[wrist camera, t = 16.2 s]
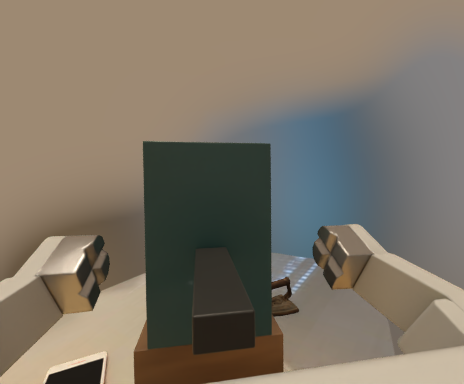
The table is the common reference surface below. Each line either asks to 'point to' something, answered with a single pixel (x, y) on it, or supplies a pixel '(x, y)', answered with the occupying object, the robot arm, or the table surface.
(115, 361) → the table surface
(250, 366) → the riser
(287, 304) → the clothes iron
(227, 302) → the lever
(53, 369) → the cell phone
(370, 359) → the robot arm
